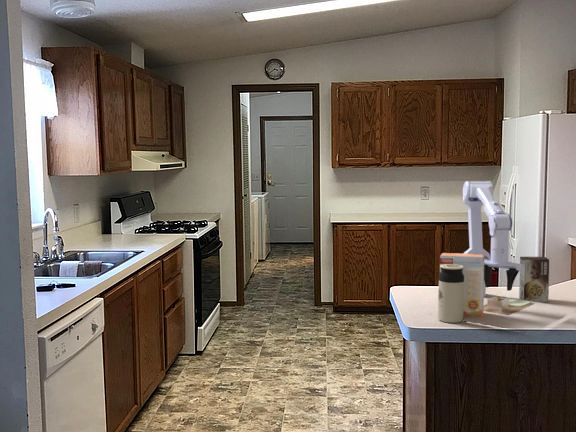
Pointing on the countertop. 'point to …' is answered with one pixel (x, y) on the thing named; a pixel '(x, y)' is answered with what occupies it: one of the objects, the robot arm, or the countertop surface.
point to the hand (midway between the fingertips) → (498, 288)
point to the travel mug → (451, 293)
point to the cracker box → (469, 280)
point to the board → (511, 306)
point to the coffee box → (534, 279)
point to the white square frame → (497, 304)
